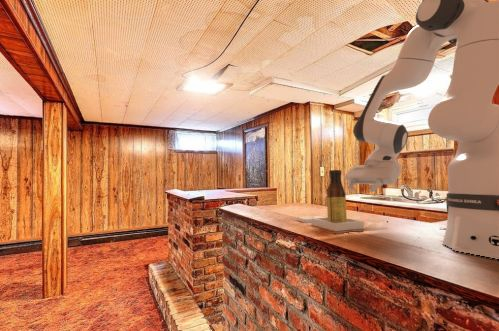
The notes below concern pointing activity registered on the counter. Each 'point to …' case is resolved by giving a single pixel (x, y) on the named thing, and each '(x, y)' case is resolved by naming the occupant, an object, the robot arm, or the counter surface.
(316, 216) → the tile
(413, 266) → the counter surface
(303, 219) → the tile
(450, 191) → the robot arm
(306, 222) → the slate board
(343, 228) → the bin
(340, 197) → the sauce bottle
